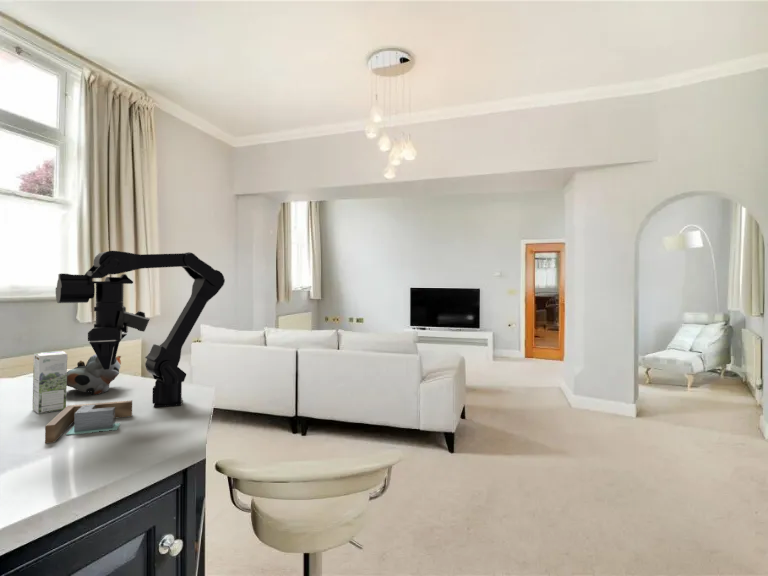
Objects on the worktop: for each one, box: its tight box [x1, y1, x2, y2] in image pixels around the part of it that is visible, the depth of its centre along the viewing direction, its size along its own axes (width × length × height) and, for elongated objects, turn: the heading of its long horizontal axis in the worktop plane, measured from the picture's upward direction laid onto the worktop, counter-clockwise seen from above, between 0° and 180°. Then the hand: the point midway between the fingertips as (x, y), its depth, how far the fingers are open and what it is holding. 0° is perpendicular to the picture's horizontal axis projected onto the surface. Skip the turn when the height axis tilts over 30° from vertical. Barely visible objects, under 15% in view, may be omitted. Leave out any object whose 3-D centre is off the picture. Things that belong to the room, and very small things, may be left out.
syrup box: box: [32, 350, 68, 415], centre depth 106 cm, size 6×6×14 cm
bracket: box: [73, 404, 116, 432], centre depth 94 cm, size 7×6×4 cm
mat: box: [65, 422, 121, 436], centre depth 94 cm, size 9×8×1 cm
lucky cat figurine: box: [67, 353, 122, 396], centre depth 126 cm, size 15×12×14 cm
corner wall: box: [44, 399, 133, 444], centre depth 93 cm, size 13×16×4 cm
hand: (109, 365), depth 103 cm, fingers open, 9 cm apart
